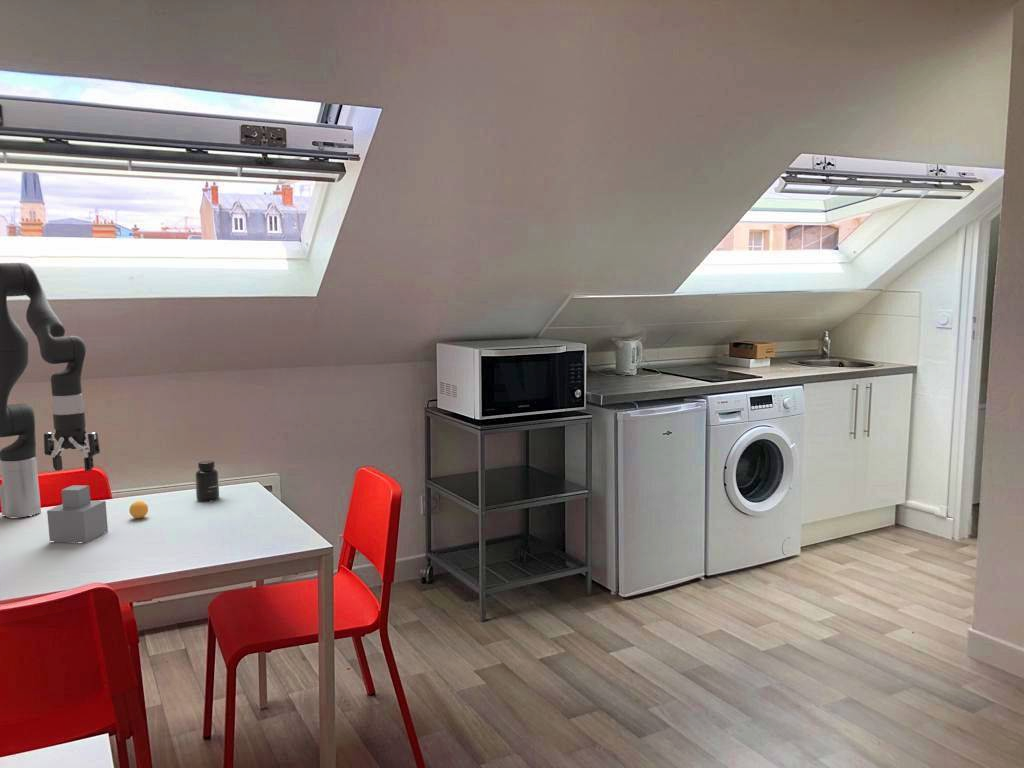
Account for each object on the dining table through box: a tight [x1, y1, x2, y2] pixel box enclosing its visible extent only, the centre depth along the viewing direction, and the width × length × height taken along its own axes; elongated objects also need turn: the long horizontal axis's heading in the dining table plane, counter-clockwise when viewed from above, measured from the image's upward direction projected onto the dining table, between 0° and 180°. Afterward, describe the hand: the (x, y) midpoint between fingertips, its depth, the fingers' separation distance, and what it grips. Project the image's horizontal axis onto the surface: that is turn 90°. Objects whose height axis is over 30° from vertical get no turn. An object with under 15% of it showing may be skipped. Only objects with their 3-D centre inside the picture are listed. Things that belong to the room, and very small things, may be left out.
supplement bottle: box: [194, 460, 220, 502], centre depth 265 cm, size 7×7×12 cm
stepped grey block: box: [46, 484, 109, 544], centre depth 228 cm, size 10×10×14 cm
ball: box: [128, 500, 149, 519], centre depth 246 cm, size 5×5×5 cm
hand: (73, 470), depth 227 cm, fingers open, 8 cm apart
